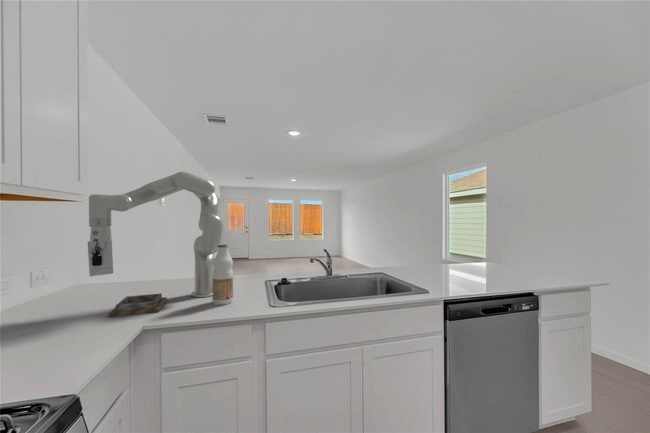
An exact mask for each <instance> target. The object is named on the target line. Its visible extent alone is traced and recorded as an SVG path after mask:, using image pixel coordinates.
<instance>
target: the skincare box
mask: <svg viewBox="0 0 650 433" xmlns="http://www.w3.org/2000/svg"><path fill="white" fill-rule="evenodd" d="M96 249H99V248H98V247H96ZM98 252H99V251H98ZM87 255H88V257H87V258H88V269H89V270H88V271H89V273H88V274H89V277H95V276H103V275H104V276H105V275H112V274H114V260H113V259H114V258H113V256H114V255H113V240H107V249H102V252H101V256H102V265H100V266H92V250H91V248H90V240H88V241H87Z"/></svg>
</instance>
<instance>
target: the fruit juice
mask: <svg viewBox="0 0 650 433" xmlns="http://www.w3.org/2000/svg"><path fill="white" fill-rule="evenodd" d="M233 265H234V260H233V258H232V257H231V254H230V252H229V244H227V243H222V244H221V243H220V244H219V245H218V251H217V252H216V255H215V256H214V261H213V267H214V271H213V288H212V296H211V297H212V304H213V305H217V306H222V305H224V306H225V305H229V304H232V303H233V301H234V270H233Z"/></svg>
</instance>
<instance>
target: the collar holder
mask: <svg viewBox="0 0 650 433" xmlns="http://www.w3.org/2000/svg"><path fill="white" fill-rule="evenodd" d="M162 296H163V294H162V292H161V293H152V294H150V293H149V294H142V295H141V294H140V295H139V294H138V295H129V296H127V295H126V296H125V297H124V298H122V299H121V300H120V301H119V302H118V303H117V304H116V305H115V308H113V309H112V310H111V311H109V313H108V318H116V317H115V316H117V317H123V316H124V317H125V315H126V316H134V315H133V314H136V315H143V313H145V314H150V313H151V314H153V313H154V312H155V313H160V311H161V310H162V308H163V307H164V305H165V303H166V302H167V301H168V300H167V299H168V298H167V297H162Z"/></svg>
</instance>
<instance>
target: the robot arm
mask: <svg viewBox="0 0 650 433" xmlns="http://www.w3.org/2000/svg"><path fill="white" fill-rule="evenodd" d="M183 190H185V191H188V192H190V193H193V195H195V196H196V197H197V199H199V202H200V213H199V219H198V228H199V230H200V231H202V233H201V234H202V235H201V234H200V235H198V236H197V237H196V238H195V240H194V242H193V252H194V291H192V292H191V297H193V298H207V297H212V288H213V271H214V267H213V261H214V259H215V254H217V252H218V245H219V244H221V241H222V236H223V226H224V225H223V221H222V219H221V217H219V216H218V212H219V211H218V210H219V202H218V198H217V195H216V194H215V191H216V186H215V185H214V183H213V182H212V181H210V180H208V179H206V178H203V177H200V176H197V175H194V174H193V173H192V174H191V173H189V172H186V171H178V172H176V173H174V174H171V175H168V176H165V177H163V178H159V179H156V180H154V181H151V182H149V183H146V184H144V185H142V186H141V187H139V188H136V189H134V190H130V191H128V192H125V193H122V194H110V195H109V194H98V193H97V194H90V195H89V196H88V227H90V234H89V237H90V238H89V241H90V248H91V250H92V266H100V265H102V256H101V252H102V249H107V240H112V238H113V237H112V231H111V230H112V229H111V227H112V211H114V212H116V211H117V212H127V211H129V210H130V209H133V208H136V207H138V206H141V205H144V204H146V203H150V202H155V201H158V200H161V199H163V198H165V197H168V196H170V195H174V194H175V193H178V192H180V191H183ZM112 241H113V240H112ZM96 247H98V248H99V249H96ZM98 251H99V252H98Z"/></svg>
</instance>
